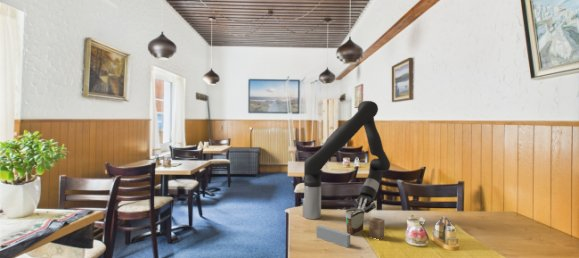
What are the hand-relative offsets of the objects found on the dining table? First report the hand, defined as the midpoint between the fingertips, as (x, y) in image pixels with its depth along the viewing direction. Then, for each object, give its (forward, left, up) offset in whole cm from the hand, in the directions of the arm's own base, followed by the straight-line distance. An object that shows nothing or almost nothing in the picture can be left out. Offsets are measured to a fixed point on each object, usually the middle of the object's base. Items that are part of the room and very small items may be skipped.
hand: (357, 218), depth 146 cm
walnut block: (+12, -5, -5) cm, 14 cm away
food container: (0, -6, -5) cm, 8 cm away
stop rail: (0, -22, -5) cm, 23 cm away
